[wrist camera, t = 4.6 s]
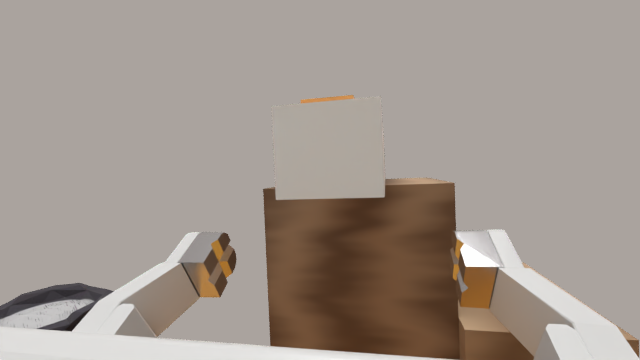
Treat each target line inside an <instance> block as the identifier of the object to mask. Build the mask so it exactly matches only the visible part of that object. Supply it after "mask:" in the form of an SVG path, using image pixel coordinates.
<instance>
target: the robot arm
mask: <svg viewBox="0 0 640 360" xmlns="http://www.w3.org/2000/svg"><path fill="white" fill-rule="evenodd" d="M451 241H452V245H453V248H452V249H450V268H451V273H452V277H453V279H454V280H456V293H457V297H458V300H459V304H460V307H469V308H485V309H490V311H491V312H492V313H493V314H494V315H495V316H496V317H497V319H498V320H499V321H500V322H501V323H502V324H503V325H504V326H505V327H506V328H507V329H508V330H509V331H510V332H511V333H512V334H513V335H514V336H515V337H516V338H517V339H518V340H519V342H520V343H521V344H522V345H523V346H524V347H525V348H526V349H527V350H528V351H529V352H530V353H531V354H532V355H533V356H534V359H533V360H640V359H639V358H638V356H637V355H636V353H635V352H634V351H633V349H632V348H631V346H630V345H629V343H628V342H627V340H626V339H625V338H624V336H623V335H622V333H621V332H620V330H619V329H618V328H617V326H616V325H614V324H613V323H611V322H610V321H608V320H607V319H605V318H604V317H602V316H601V315H599V314H598V313H596V312H595V311H593V310H592V309H590V308H589V307H587V306H586V305H584V304H583V303H581V302H580V301H578V300H577V299H575V298H574V297H572V296H571V295H569V294H568V293H566V292H565V291H563V290H562V289H560V288H559V287H557V286H556V285H554V284H553V283H551V282H550V281H548V280H547V279H545V278H544V277H542V276H541V275H540V274H538V273H537V272H535V271H534V270H532V269H531V268H524V266H523V264H522V262H521V260H520V258H519V256H518V254H517V253H516V251H515V249H514V247H513V245H512V243H511V241H510V239H509V238H508V235H507V234H506V232H505V231H504V230H472V231H471V230H469V231H453V232H452V237H451ZM229 242H230V239H229V236H228V234H226V233H218V232H214V233H213V232H201V233H200V232H196V233H195V232H190V233H188V234H186V236H185V237H184V238H183V239H182V241H181V242H180V243H179V245H178V246H177V247H176V249H175V250H174V251H173V253H172V254H171V255H170V256H169V258H168V259H167V260H166V262H165V263H160V264H158V265H156V266H155V267H153V268H152V269H150V270H148V271H147V272H145V273H143V274H142V275H140V276H138V277H137V278H135V279H134V280H132V281H131V282H129V283H127V284H126V285H124V286H122V287H121V288H119V289H117V290H116V291H114V292H112V293H111V294H109V295H107V296H106V297H104V298H103V299H101V300H99V301H98V302H97V303H96V304H95V305H94V307H93V308H92V309H91V310H90V311H89V312H88V313H87V314H86V316H85V317H84V318H83V319H82V320H81V321H80V322H79V324H78V325H77V326H76V327H75V328H74V329H73V330H72V332H71V331H57V330H43V329H29V328H16V327H2V326H0V360H455V359H441V358H428V357H414V356H400V355H386V354H372V353H358V352H344V351H330V350H317V349H303V348H290V347H276V346H263V345H248V344H234V343H221V342H208V341H207V342H206V341H194V340H180V339H167V338H157V337H158V336H159V335H160V334H161V333H162V332H163V331H164V330H165V329H166V328H167V327H169V326H170V325H171V324H172V323H173V322H174V321H175V320H176V319H177V318H178V317H180V315H182V314H183V313H184V312H185V311H186V310H187V309H188V308H189V307H191V306H192V305H193V304H194V303H195V302H196V301H197V300H198V299H199V297H221V295H222V292H223V291H224V289H225V287H226V285H227V279H226V278H227V277H228V276H229V275H230V274H232V273H233V270H234V268H235V264H236V253H235V251H234V249H233V248H232V247H231V246H230V245H228V244H229Z"/></svg>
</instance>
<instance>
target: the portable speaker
mask: <svg viewBox="0 0 640 360" xmlns="http://www.w3.org/2000/svg"><path fill="white" fill-rule="evenodd" d="M112 292H114V291H111V290H107V289H102V288H97V287H91V286H88V285H84V284H82V283H75V284H66V285H56V286H51V287H48V288H44V289H40V290H36V291H32V292H29V293H25V294H22V295H20V296H18V297H17V298H15V299H13V300H11V301H10V302H8V303H6V304H4V305H1V306H0V326H2V327H16V328H29V329H43V330H57V331H71V332H72V330H73V329H74V328H75V327H76V326H77V325H78V324H79V322H80V321H81V320H82V319H83V318H84V317H85V316H86V314H87V313H88V312H89V311H90V310H91V309H92V308H93V307H94V305H95V304H96V303H97V302H98V301H99V300H101V299H103V298H104V297H106V296H107V295H109V294H111V293H112Z"/></svg>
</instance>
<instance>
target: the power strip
mask: <svg viewBox="0 0 640 360" xmlns="http://www.w3.org/2000/svg"><path fill="white" fill-rule="evenodd" d="M272 127H273V149H274V170H275V171H274V172H275V194H276V200H294V199H337V198H380V197H385V159H384V157H385V156H384V137H383V136H384V135H383V120H382V104H381V96H379V97H367V98H356V99H355V98H354V96H353V95H348V96H338V97H327V98H317V99H306V100H301V104H290V105H279V106H272Z"/></svg>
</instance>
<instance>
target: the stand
mask: <svg viewBox="0 0 640 360" xmlns="http://www.w3.org/2000/svg"><path fill="white" fill-rule="evenodd" d="M263 192H264V214H265V235H266V257H267V279H268V301H269V322H270V344H271V346H276V347H290V348H303V349H317V350H330V351H344V352H358V353H372V354H386V355H400V356H414V357H428V358H441V359H455V360H533V359H534V356H533V355H532V354H531V353H530V352H529V351H528V350H527V349H526V348H525V347H524V346H523V345H522V344H521V343H520V342H519V340H518V339H517V338H516V337H515V336H514V335H513V334H512V333H511V332H510V331H509V330H508V329H507V328H506V327H505V326H504V325H503V324H502V323H501V322H500V321H499V320H498V319H497V317H496V316H495V315H494V314H493V313H492V312H491V311H490V309H485V308H469V307H460V304H459V300H458V297H457V293H456V280H454V279H453V277H452V273H451V268H450V249H452V248H453V245H452V241H451V237H452V232H453V231H456V220H455V186H454V183H452V182H447V181H442V180H437V179H431V178H404V179H385V197H380V198H337V199H294V200H276V194H275V187H272V188H267V189H263ZM522 264H523V266H524V268H531V267H529V266H528V265H526V264H525V263H522ZM531 269H532V268H531ZM532 270H534V269H532ZM534 271H535V270H534ZM535 272H537V271H535ZM537 273H538V272H537ZM538 274H540V273H538ZM540 275H541V274H540ZM541 276H542V277H544V276H543V275H541ZM544 278H545V279H547V278H546V277H544ZM547 280H548V281H550V280H549V279H547ZM550 282H551V283H553V282H552V281H550ZM553 284H554V285H556V284H555V283H553ZM556 286H557V287H559V286H558V285H556ZM559 288H560V287H559ZM560 289H562V288H560ZM562 290H563V289H562ZM563 291H565V290H563ZM565 292H566V291H565ZM566 293H568V292H566ZM568 294H569V293H568ZM569 295H571V294H569ZM571 296H572V295H571ZM572 297H574V296H572ZM574 298H575V297H574ZM575 299H577V298H575ZM577 300H578V299H577ZM578 301H580V300H578ZM580 302H581V301H580ZM581 303H583V302H581ZM583 304H584V303H583ZM584 305H586V304H584ZM586 306H587V305H586ZM587 307H589V306H587ZM589 308H590V307H589ZM590 309H591V308H590ZM592 310H593V309H592ZM593 311H594V310H593ZM595 312H596V311H595ZM596 313H597V312H596ZM598 314H599V313H598ZM599 315H600V314H599ZM601 316H602V315H601ZM602 317H603V316H602ZM604 318H605V317H604ZM605 319H606V318H605ZM607 320H608V319H607ZM608 321H609V320H608ZM610 322H611V321H610ZM611 323H612V322H611ZM613 324H614V323H613ZM614 325H615V324H614ZM616 326H617V325H616ZM617 328H618V329H619V330H620V332H621V333H622V335H623V336H624V338H625V339H626V340H627V342H628V343H629V345H630V346H631V348H632V349H633V351H634V352H635V353H636V355H637V356H638V358H639V340H637V339H636V338H634V337H633V336H631V335H630V334H629V333H627V332H626V331H624V330H623V329H621V328H620V327H618V326H617Z"/></svg>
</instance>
